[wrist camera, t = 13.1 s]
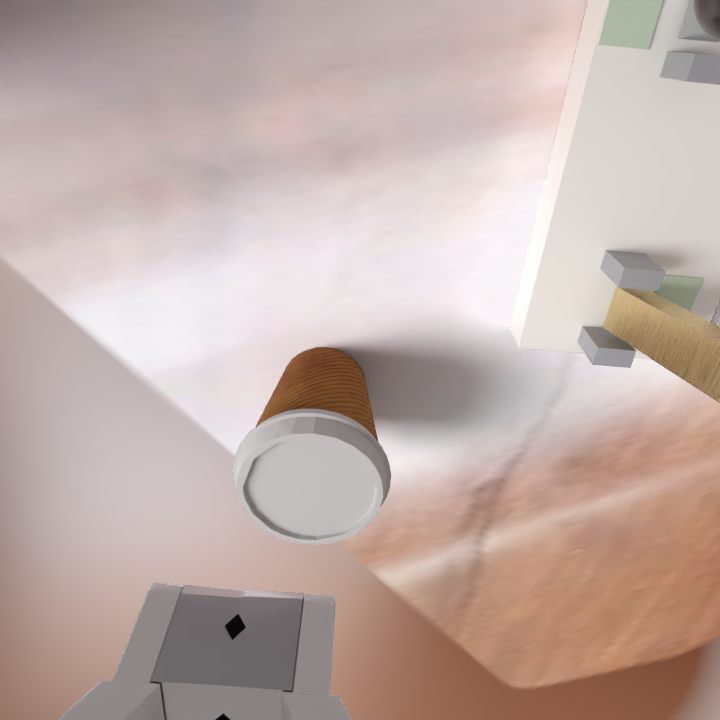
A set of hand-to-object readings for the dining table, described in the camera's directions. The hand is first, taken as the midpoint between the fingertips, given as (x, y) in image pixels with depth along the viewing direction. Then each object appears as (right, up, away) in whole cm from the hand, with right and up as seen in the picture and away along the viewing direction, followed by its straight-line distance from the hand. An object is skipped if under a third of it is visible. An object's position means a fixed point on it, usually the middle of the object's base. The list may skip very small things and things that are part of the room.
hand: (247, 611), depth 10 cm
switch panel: (+20, +16, +26) cm, 37 cm away
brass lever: (+18, +8, +27) cm, 33 cm away
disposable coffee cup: (-1, +3, +35) cm, 35 cm away
